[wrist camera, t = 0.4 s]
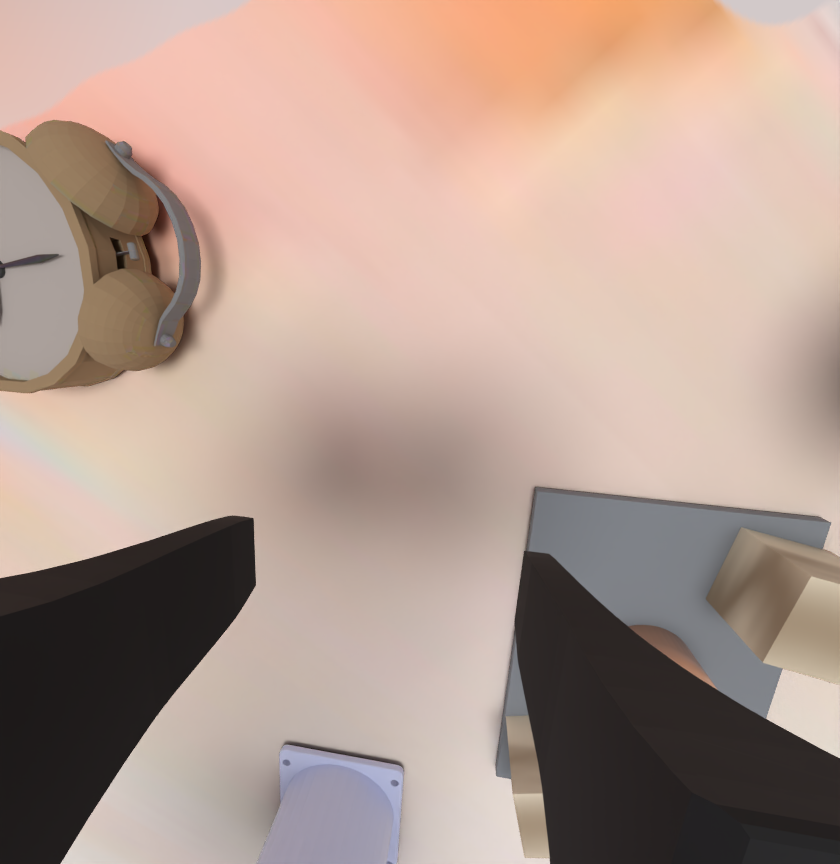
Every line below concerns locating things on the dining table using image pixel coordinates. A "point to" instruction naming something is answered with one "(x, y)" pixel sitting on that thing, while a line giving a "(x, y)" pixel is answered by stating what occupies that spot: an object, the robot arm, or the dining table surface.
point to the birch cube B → (782, 602)
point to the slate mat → (657, 578)
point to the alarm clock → (84, 261)
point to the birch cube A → (527, 787)
